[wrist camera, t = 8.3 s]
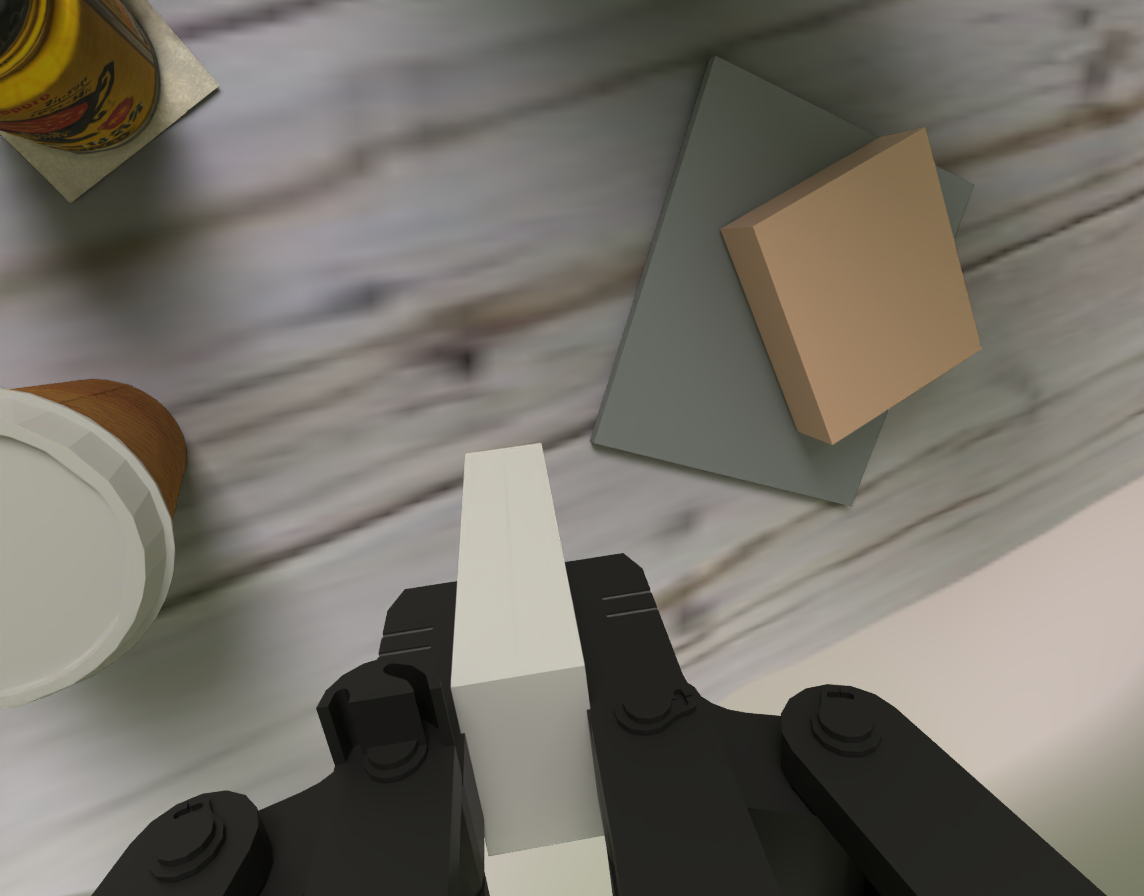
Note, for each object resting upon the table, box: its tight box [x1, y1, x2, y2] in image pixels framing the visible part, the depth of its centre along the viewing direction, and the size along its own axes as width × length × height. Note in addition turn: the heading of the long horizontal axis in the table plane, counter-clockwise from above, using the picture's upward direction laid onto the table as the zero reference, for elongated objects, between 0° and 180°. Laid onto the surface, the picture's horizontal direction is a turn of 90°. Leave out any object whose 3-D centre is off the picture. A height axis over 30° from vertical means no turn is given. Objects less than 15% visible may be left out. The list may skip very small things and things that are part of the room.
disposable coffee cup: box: [0, 379, 186, 709], centre depth 24 cm, size 10×10×12 cm
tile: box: [720, 127, 982, 445], centre depth 36 cm, size 3×12×10 cm
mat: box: [590, 56, 974, 506], centre depth 37 cm, size 19×17×1 cm
